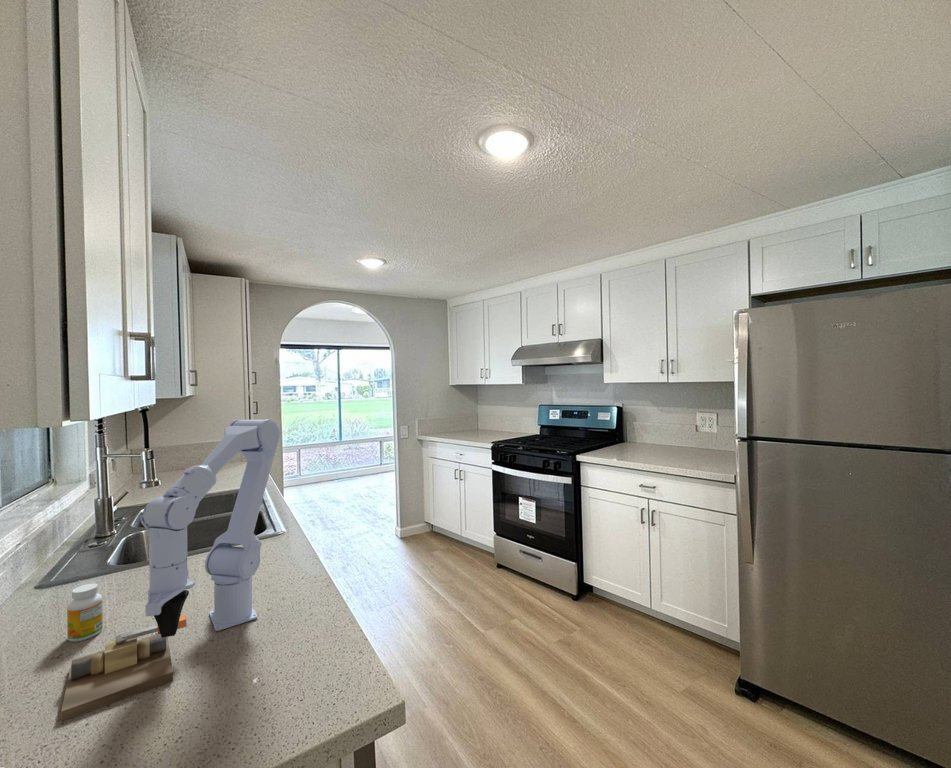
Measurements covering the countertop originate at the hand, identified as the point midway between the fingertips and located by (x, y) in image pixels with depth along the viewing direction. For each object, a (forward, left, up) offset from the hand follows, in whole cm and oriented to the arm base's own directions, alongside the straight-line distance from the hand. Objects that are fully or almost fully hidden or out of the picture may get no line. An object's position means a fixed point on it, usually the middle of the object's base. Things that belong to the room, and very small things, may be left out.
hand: (168, 635), depth 79 cm
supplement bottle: (-23, -13, -5) cm, 27 cm away
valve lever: (-2, -2, 0) cm, 3 cm away
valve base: (-3, -7, -5) cm, 9 cm away
